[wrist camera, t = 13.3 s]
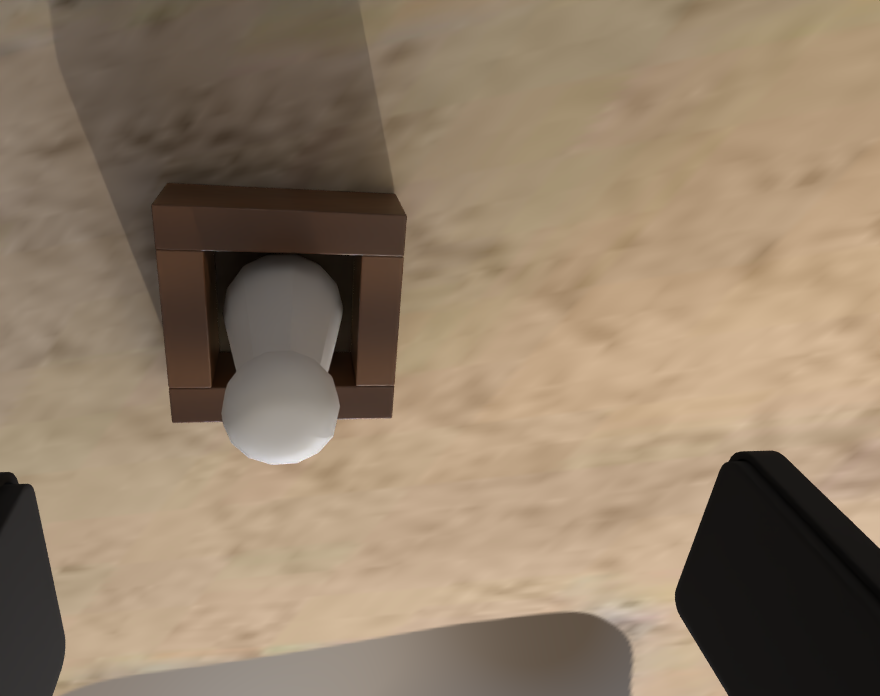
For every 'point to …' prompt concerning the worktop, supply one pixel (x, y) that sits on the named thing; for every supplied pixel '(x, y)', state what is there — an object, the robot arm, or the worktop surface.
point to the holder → (276, 231)
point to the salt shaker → (281, 358)
